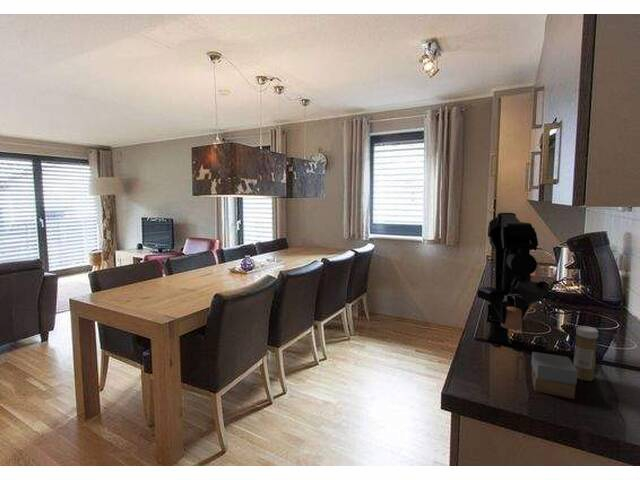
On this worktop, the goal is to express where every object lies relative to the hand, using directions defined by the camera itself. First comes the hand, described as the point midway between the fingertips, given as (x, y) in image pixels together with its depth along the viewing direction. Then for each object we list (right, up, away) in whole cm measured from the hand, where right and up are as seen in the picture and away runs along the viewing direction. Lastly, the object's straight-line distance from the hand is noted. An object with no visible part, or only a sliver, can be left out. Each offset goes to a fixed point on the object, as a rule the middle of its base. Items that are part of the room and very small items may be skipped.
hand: (510, 322), depth 99 cm
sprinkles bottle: (+16, -13, -6) cm, 21 cm away
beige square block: (+4, -14, -11) cm, 18 cm away
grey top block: (+5, -10, -11) cm, 16 cm away
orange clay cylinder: (0, -1, 0) cm, 1 cm away
